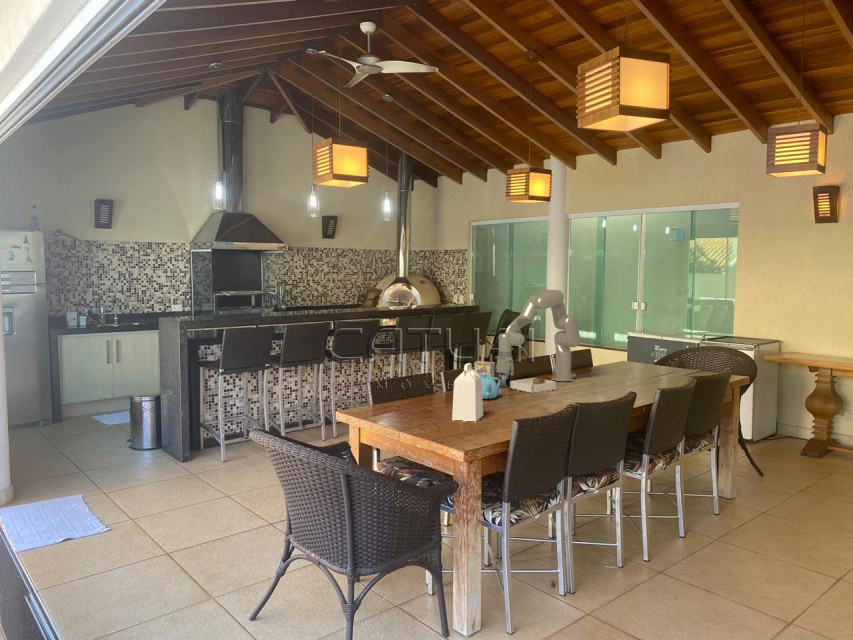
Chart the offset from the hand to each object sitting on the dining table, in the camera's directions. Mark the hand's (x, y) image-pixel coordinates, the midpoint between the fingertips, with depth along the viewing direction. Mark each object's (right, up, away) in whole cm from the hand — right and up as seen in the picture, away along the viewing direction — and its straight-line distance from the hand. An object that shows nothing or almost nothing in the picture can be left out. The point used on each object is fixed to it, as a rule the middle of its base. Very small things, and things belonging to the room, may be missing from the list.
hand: (504, 384), depth 386 cm
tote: (+15, -2, -10) cm, 18 cm away
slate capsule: (0, -1, 0) cm, 2 cm away
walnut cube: (+19, -1, -7) cm, 20 cm away
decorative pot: (-16, -5, -33) cm, 37 cm away
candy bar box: (-13, -3, -9) cm, 16 cm away
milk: (-27, -8, -80) cm, 85 cm away
